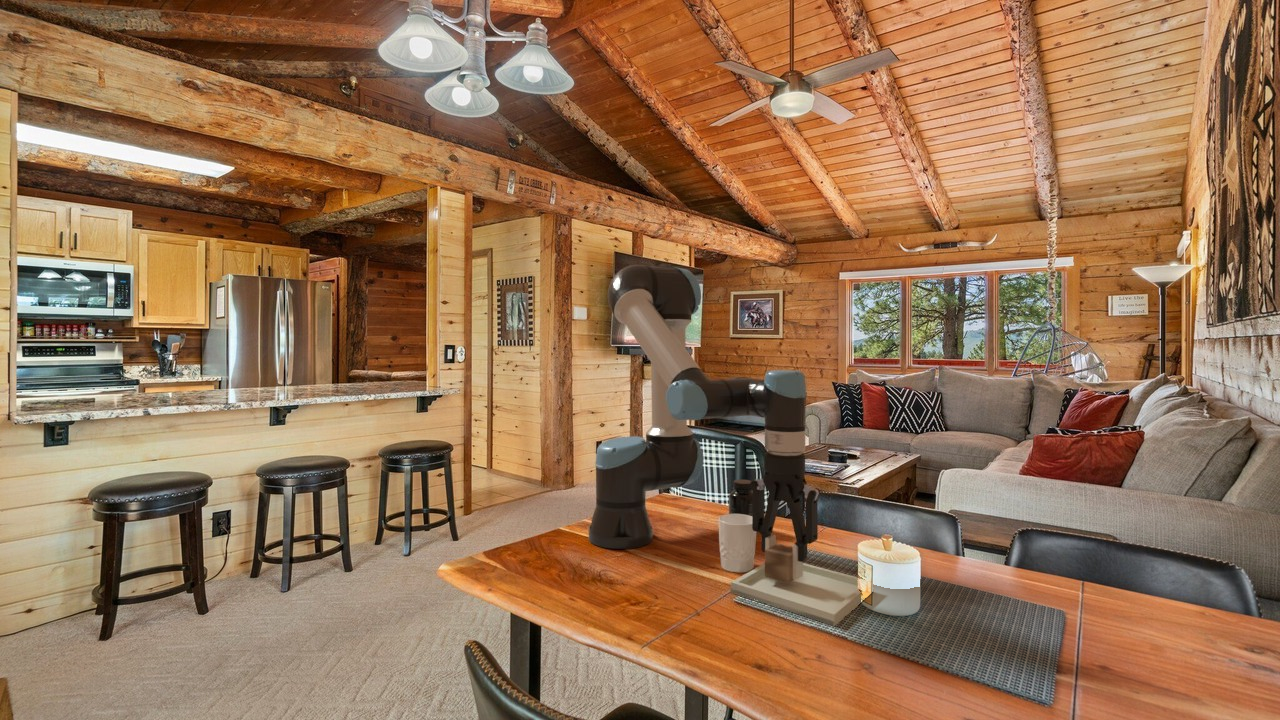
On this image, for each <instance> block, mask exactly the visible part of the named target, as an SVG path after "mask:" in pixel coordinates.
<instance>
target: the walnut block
mask: <svg viewBox="0 0 1280 720" xmlns="http://www.w3.org/2000/svg"><path fill="white" fill-rule="evenodd" d="M764 563H765V577H769V578H772V579H776V580H780V581H783V582H787V583H790V582H791V581H793V580H795V579H793V546H788V545H784V544H779V543H776V545H774V546H772V547H770V548H768V549H766V550H765V552H764Z"/></svg>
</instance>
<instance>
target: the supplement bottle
mask: <svg viewBox="0 0 1280 720" xmlns="http://www.w3.org/2000/svg"><path fill="white" fill-rule="evenodd" d="M751 481H752V480H749V479H734V480H733V482H732V484H733V485H732V486H733V487H732V489H733V491H731V492H730V493H729V496H728V514H744V515H749V516H753V491H752V488H751V484H750V483H751Z"/></svg>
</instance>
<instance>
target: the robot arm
mask: <svg viewBox="0 0 1280 720" xmlns="http://www.w3.org/2000/svg"><path fill="white" fill-rule="evenodd" d="M701 300H702V290H701V285H700V283H699V280H698V278H697V277H696V276H695V275H694V273H693V272H691V271H690V270H689V269H686V268H680V267H676V266H659V265H648V264H647V265H646V264H632V265H631V264H630V265H627V266H626V267H623V268H622V269H620V270H619V271H617V273H616V274H615V275H614V276H613V277H612V278H611V280H610V282H609V286H608V289H607V302H608V305H609V309H610V312H612V315H613V316H614V317H615V319H616V320H617V321H618V323H621V324H623V325H625V326H626V327H627V329H628V331H629V332H630V333H631V334H632V336H633V337H634V339H635V340H636V342H637V344H638V345H639V347H640V348H641V349H642V351H643V352H644V354H645V356H646V357H647V358H648V361H650V371H651V372H650V373H651V374H650V376H651V377H650V378H651V379H650V380H651V388H650V389H651V390H650V391H651V426H650V428H649V429H648V430H647V431H646V432H645V438H644V437H642V436H636V435H635V436H634V435H633V436H619V437H615V438H610V439H607V440H605V441H603V442H601V443H600V444H599V445H598V446H597V449H596V454H595V455H596V457H595V464H594V465H595V499H596V500H595V501H596V502H595V509H594V511H593V515H592V519H591V523H590V525H589V527H588V541H589V542H590V543H591V544H592V545H595V546H597V547H599V548H600V547H602V548H606V549H614V550H615V549H616V550H620V549H621V550H624V549H626V550H627V549H635V548H639V547H644V546H646V545H648V544H650V543H651V542H652V541H653V539H654V530H653V525H651V521H650V517H649V513H648V510H647V507H646V505H647V504H646V493H647V492H650V491H657V490H663V489H664V490H665V489H671V488H675V489H678V488H681V487H684V486H688V485H691V484H693V483H694V482H696V481H697V479H698V478H699V477H700V475H701V474H702V471H703V467H704V461H705V460H704V451H703V449H702V448H701V446H702V445H701V443H700V442H699V441H698V440H697V439H696V438H694V432H693V430H692V429H690V427H688V421H699V420H707V419H719V418H731V417H732V418H734V417H747V416H749V417H759V418H764V450H766V452H765V453H764V459H763V461H764V466H763V467H764V475H763V478H756V479H753V480H750V481H751V483H750V484H751V488H752V492H753V516H752V529H753V531H756V533H759V535H760V536H761V552H762V553H765V550H766V549H768V548H770V547H772V546H774V545H776V544H777V542H776V541H777V540H776V539H777V538H776V534H773V533H774V530H773V529H774V525H775V521H776V518H777V513H778V510H779V507H780V506H779V505H780V503H781V502H784V503H786V506H787V508H788V509H789V514H790V517H791V522H792V528H793V532H794V536H795V540H796V542H794V543H793V544H792V547H793V579H795V580H797V579H798V578H800V577H802V576H803V563H805V561H807V559H808V544H809V545H810V544H812V543H814V542H816V541H817V540H818V537H819V536H818V532H819V531H818V530H819V529H818V526H819V525H818V521H819V520H818V502H819V498H820V496H821V490H820V488H814V487H812V486H810V485H808V483H807V481H806V479H805V473H806V455H805V454H804V452H805V451H806V407H807V405H806V403H807V385H806V376H805V373H804V372H803V371H801V370H793V369H792V370H791V369H790V370H788V369H773V370H767V371H766V372H765V376H764V378H763V379H762V378H752V377H745V376H737V377H731V378H724V379H723V378H722V379H720V378H718V379H710V378H708V377H707V375H706V374H705V372H704V371H703V370H702V369H701V367H700V366H699V365H698V363H697V362H696V361H695V359H694V358H693V357H692V356H691V354H690V353H689V351H688V350H687V348H686V347H687V346H686V344H687V343H686V329H687V327H688V326H689V325H690V323H692V315H694V314H695V313H696V312H697V311H698V310H699V306H700V305H701V303H702V301H701ZM765 489H766V490H767V491H768V497H767V500H766V502H767V505H766V509H765V496H766V494H765ZM803 493H804V498H805V518H804V513H803V510H802V499H801V495H802V494H803Z"/></svg>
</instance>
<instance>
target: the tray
mask: <svg viewBox="0 0 1280 720" xmlns="http://www.w3.org/2000/svg"><path fill="white" fill-rule="evenodd" d="M857 577H858V576H854V575H850V574H846V573H842V572H839V571H835V570H832V569H831V570H830V569H828V568H823V567H819V566H815V565H813V564H812V565H811V564H808V563H805V562H803V576H802V577H800V578H798V579H797V580H793V581H791V582H790V583H787V582H783V581H780V580H776V579H772V578H769V577H765V562H764V563H763V564H761V565H759V566H757V567H754V568H753V569H752V570H751V571H748V572H745V573H744V574H743V575H741V576H739V577H737V578H736V579H734V580H732V581H730V594H733V595H735V596H740V597H742V596H744V597H743V598H745V597H748V598H751V599H755V600H758V601H760V602H763V603H762V604H764V603H767V604H770V605H773V606H775V607H774V608H776V607H777V609H779V608H781V609H780V610H782V609H783V611H785V610H787V611H786V612H788V611H790V612H789V613H791V612H793V613H792V614H794V613H796V614H795V615H798V614H799V615H798V616H801V615H802V616H801V617H804V616H805V617H804V618H807V617H808V619H810V618H811V620H813V619H814V620H813V621H816V620H817V621H816V622H819V621H820V622H819V623H822V622H823V623H822V624H825V623H826V625H829V626H832V627H835V626H837V625H838V624H839V623H840V622H841V621H842V620H843V619H845V618H846V617H847V616H848V615H850V614H851V613H852V612H853V611H854V610H856V608H857V607H858V605H859V604H860V603H861V592H860V591H859V590H858V589H857ZM748 598H747V599H748ZM751 599H750V600H751ZM760 602H759V603H760ZM767 604H766V605H767ZM861 604H862V603H861ZM861 604H860V605H861ZM770 605H769V606H770ZM860 605H859V606H860ZM773 606H772V607H773ZM852 610H853V611H852ZM851 611H852V612H851ZM845 616H846V617H845ZM844 617H845V618H844Z"/></svg>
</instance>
